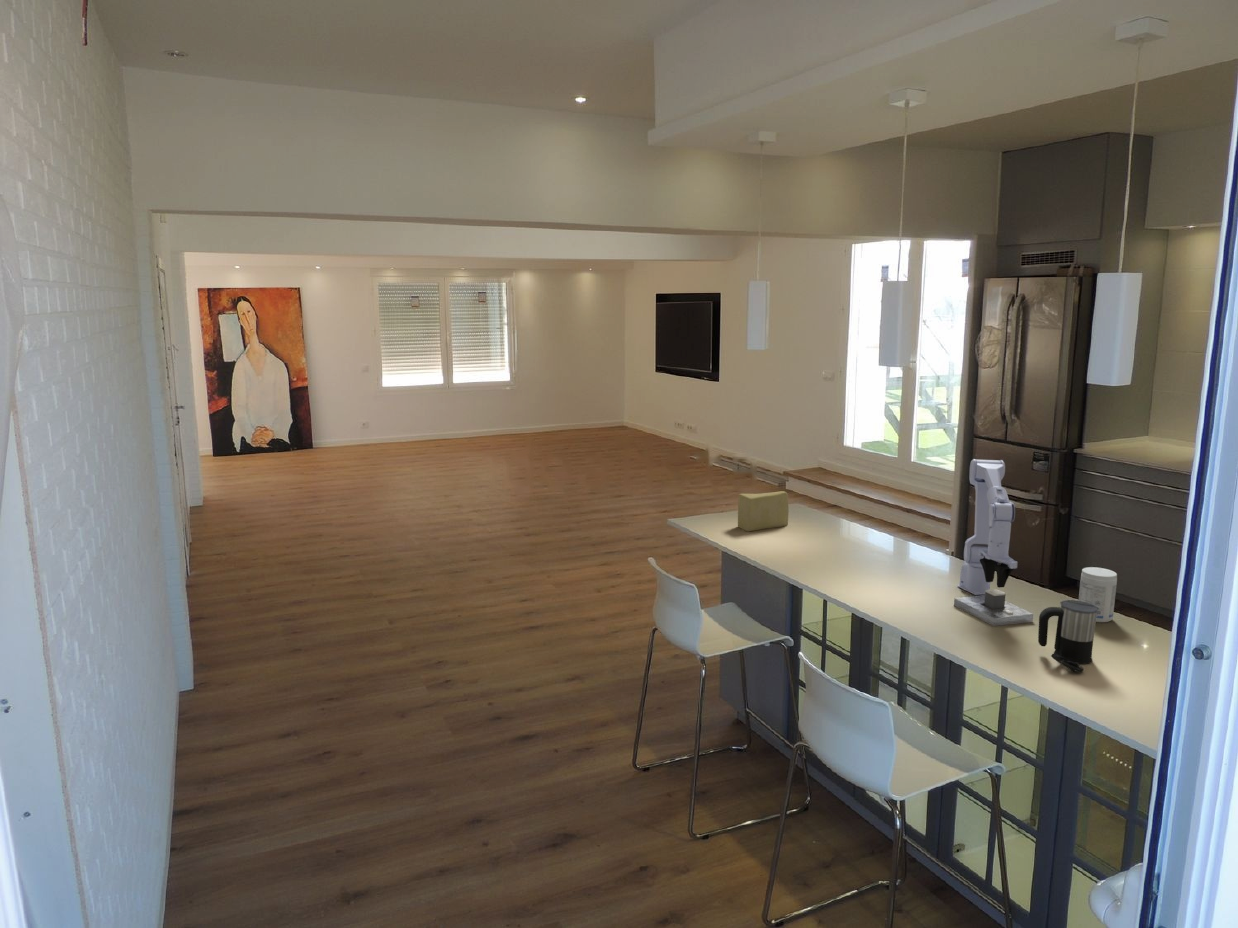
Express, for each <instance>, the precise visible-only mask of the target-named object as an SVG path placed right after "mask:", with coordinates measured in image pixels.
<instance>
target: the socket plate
mask: <svg viewBox="0 0 1238 928" xmlns="http://www.w3.org/2000/svg"><path fill="white" fill-rule="evenodd" d="M984 602H985V594H983V595H975V596H974V595H971V596H963V597H961V596H960V597H954V599H953V606H954V607H956V608H958V609H959V610H962V611H963V612H965V613H967V614H969V615H970V616H973V617H975V618H977V619H979V620H980V621H983V622H985V623H987V624H988V625H990V626H992V627H998V626H1007V625H1009V626H1010V625H1015V624H1025V623H1033V621H1034V613H1032V612H1030V611H1028V610H1026V609H1024V608H1022V607H1019V606H1017V605H1015V604H1013V603H1011V602H1009V601H1007V600H1005V605H1004V608H1003V609H993V610H991V609H989V608H987V607H985V606H984Z"/></svg>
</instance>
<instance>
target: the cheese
mask: <svg viewBox="0 0 1238 928" xmlns="http://www.w3.org/2000/svg"><path fill="white" fill-rule="evenodd" d="M737 497H738V500H737V501H738V503H737V527H738V528H739V529H741V530H743V531H745V532H753V531H760V530H764V529H765V530H766V529H772V528H779V527H787V526H788V525H789V512H790V511H789V494H788V492H786V491H784V490H783V491H781V490H780V491H774V492H773V491H772V492H763V493H739V494H738V496H737Z"/></svg>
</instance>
